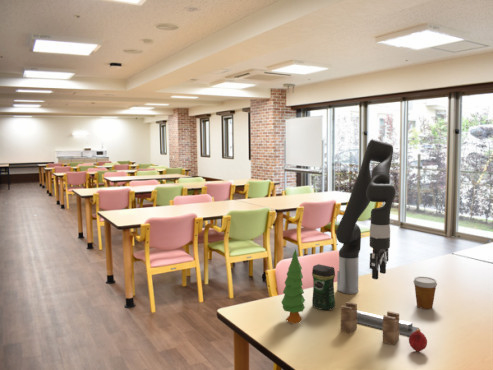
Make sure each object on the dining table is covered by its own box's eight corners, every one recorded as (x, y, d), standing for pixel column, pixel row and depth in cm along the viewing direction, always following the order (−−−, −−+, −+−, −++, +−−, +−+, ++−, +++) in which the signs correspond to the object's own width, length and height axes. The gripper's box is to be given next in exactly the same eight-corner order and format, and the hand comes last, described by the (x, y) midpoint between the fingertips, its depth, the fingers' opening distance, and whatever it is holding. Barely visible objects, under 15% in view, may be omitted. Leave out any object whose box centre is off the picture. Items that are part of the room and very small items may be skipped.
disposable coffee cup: (439, 311, 174) (439, 283, 173) (415, 310, 176) (415, 282, 175) (433, 303, 183) (434, 276, 182) (410, 301, 185) (411, 275, 184)
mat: (341, 319, 167) (341, 318, 167) (349, 312, 174) (349, 311, 174) (413, 337, 151) (413, 335, 151) (419, 329, 157) (419, 328, 157)
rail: (349, 316, 168) (349, 310, 168) (351, 314, 171) (351, 308, 170) (410, 331, 154) (410, 324, 154) (412, 329, 156) (412, 322, 156)
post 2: (382, 342, 147) (382, 316, 147) (387, 335, 152) (388, 310, 151) (393, 345, 145) (394, 318, 144) (399, 338, 150) (399, 313, 149)
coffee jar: (338, 307, 180) (338, 265, 179) (328, 312, 175) (328, 269, 173) (319, 301, 187) (319, 261, 185) (309, 306, 181) (309, 265, 180)
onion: (425, 357, 136) (425, 334, 136) (407, 353, 139) (407, 330, 139) (428, 350, 141) (428, 327, 140) (410, 346, 144) (410, 324, 144)
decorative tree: (301, 326, 161) (301, 251, 158) (278, 323, 164) (277, 250, 162) (306, 317, 170) (306, 246, 168) (284, 314, 173) (284, 244, 171)
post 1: (340, 330, 157) (340, 306, 156) (347, 325, 162) (347, 301, 161) (350, 333, 155) (350, 308, 154) (356, 327, 159) (357, 303, 159)
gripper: (376, 230, 167) (375, 269, 168) (363, 237, 155) (362, 279, 157) (395, 233, 162) (394, 273, 164) (383, 240, 151) (382, 282, 152)
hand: (378, 276), depth 160 cm, fingers open, 8 cm apart
